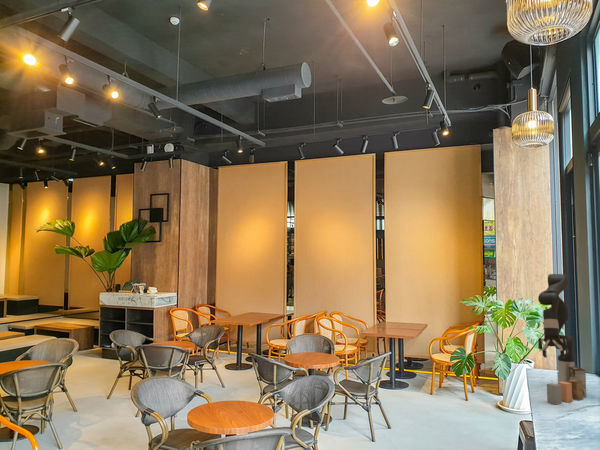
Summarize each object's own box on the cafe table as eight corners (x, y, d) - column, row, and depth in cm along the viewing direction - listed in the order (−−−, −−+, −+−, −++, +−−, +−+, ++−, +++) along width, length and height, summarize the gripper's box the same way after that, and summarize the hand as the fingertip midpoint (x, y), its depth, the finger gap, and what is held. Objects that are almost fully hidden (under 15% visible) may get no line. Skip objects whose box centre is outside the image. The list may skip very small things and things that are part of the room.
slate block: (547, 402, 256) (546, 383, 257) (553, 401, 258) (552, 383, 260) (555, 404, 252) (555, 385, 253) (561, 403, 254) (560, 385, 255)
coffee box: (569, 393, 277) (568, 366, 279) (581, 393, 276) (579, 366, 278) (575, 397, 268) (574, 369, 270) (587, 397, 267) (585, 369, 269)
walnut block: (569, 398, 265) (568, 380, 266) (574, 397, 268) (573, 379, 269) (577, 400, 261) (576, 382, 262) (582, 399, 263) (581, 381, 264)
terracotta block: (558, 400, 261) (557, 382, 262) (563, 399, 263) (563, 381, 264) (567, 402, 256) (566, 384, 257) (572, 401, 259) (571, 383, 260)
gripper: (567, 328, 253) (570, 358, 248) (540, 328, 263) (542, 357, 258) (563, 327, 248) (565, 357, 243) (535, 327, 258) (537, 356, 253)
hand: (553, 357), depth 250 cm, fingers open, 8 cm apart
